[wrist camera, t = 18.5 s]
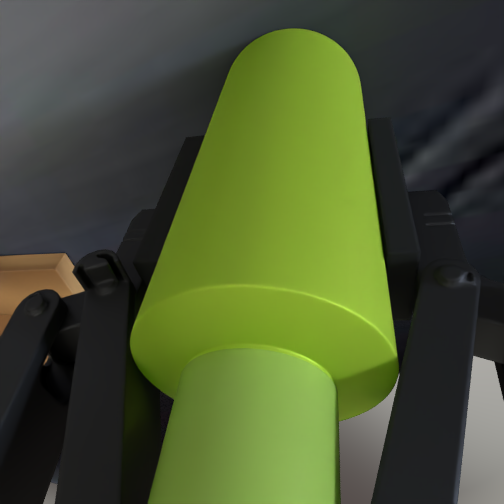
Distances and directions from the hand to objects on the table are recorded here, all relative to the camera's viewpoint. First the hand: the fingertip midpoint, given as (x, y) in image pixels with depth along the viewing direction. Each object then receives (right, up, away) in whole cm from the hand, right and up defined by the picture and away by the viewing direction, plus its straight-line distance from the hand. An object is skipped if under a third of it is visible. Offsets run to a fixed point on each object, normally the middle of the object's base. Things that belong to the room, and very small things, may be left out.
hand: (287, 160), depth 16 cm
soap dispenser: (0, +3, +3) cm, 4 cm away
